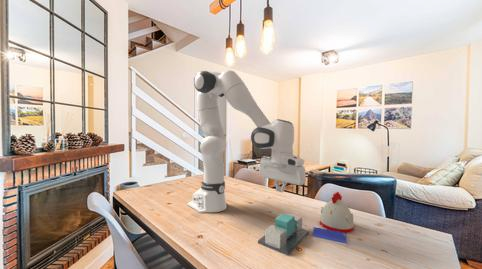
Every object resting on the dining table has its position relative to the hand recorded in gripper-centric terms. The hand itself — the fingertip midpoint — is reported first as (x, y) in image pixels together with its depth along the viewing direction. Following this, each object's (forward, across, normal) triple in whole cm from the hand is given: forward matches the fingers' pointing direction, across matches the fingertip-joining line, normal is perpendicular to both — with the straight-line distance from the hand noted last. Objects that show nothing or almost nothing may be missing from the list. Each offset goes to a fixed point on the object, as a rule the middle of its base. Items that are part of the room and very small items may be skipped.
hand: (279, 191), depth 87 cm
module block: (+15, +5, -4) cm, 16 cm away
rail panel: (+17, +5, -4) cm, 18 cm away
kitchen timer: (+16, +18, +22) cm, 32 cm away
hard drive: (+17, +18, +9) cm, 26 cm away
